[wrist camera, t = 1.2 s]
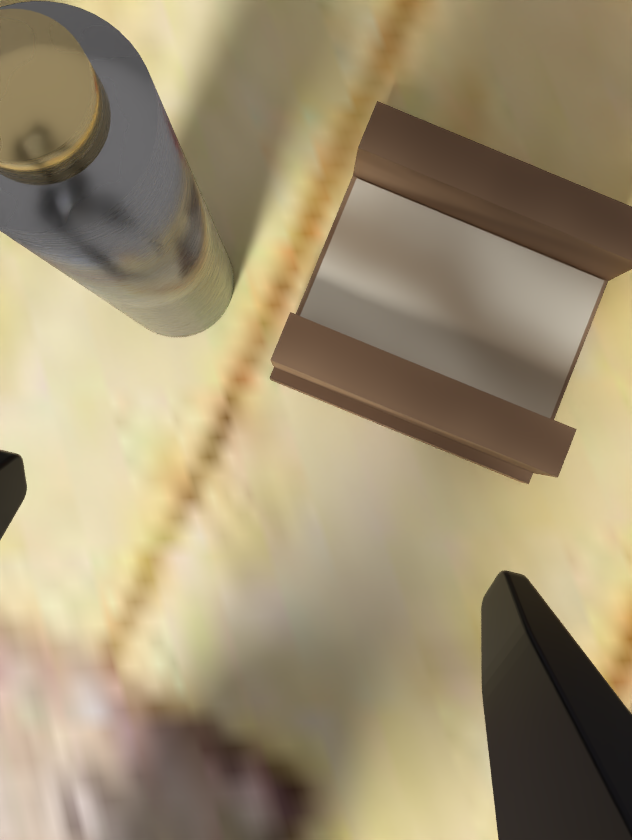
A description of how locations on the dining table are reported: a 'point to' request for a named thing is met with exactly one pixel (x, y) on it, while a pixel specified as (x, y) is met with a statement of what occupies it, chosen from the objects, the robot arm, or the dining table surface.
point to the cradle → (455, 296)
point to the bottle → (102, 172)
